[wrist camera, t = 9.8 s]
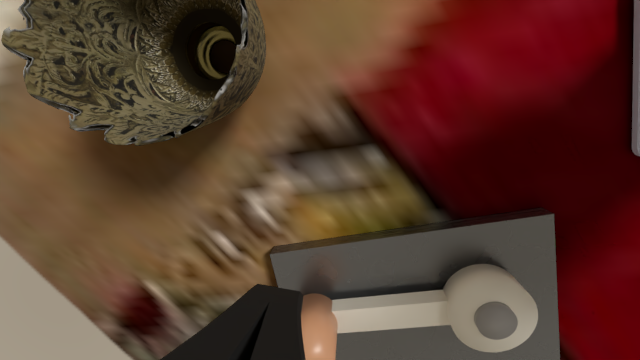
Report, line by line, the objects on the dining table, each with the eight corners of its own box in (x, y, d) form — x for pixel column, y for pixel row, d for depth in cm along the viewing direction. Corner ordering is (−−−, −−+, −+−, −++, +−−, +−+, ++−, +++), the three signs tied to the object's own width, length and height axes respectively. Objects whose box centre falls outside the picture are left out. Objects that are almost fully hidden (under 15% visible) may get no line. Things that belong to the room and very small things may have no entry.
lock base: (542, 207, 16) (556, 215, 15) (553, 434, 20) (565, 455, 18) (266, 247, 19) (260, 257, 17) (317, 444, 22) (315, 463, 21)
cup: (286, 137, 17) (229, 164, 9) (159, 118, 17) (4, 129, 10) (302, -15, 15) (247, -141, 7) (159, -30, 16) (-33, -165, 8)
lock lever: (521, 326, 16) (571, 392, 13) (300, 343, 18) (287, 405, 14) (518, 259, 16) (571, 308, 12) (287, 283, 17) (269, 333, 14)
